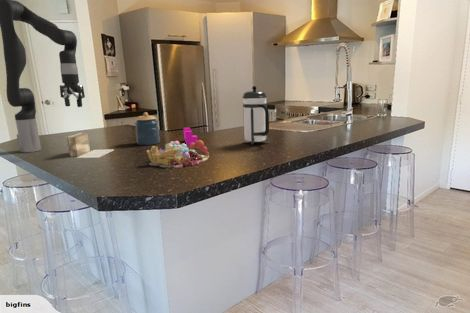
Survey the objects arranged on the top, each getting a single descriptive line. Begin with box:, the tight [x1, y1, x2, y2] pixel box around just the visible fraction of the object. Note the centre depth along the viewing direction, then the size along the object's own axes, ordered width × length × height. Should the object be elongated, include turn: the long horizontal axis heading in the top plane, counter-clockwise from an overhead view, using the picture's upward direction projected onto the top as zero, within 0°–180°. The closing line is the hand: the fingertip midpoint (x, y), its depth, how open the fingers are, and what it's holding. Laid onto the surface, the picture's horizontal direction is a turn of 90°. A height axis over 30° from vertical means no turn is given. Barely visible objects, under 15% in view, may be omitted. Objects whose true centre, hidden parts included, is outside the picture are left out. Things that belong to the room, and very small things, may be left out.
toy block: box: [183, 127, 198, 146], centre depth 188 cm, size 15×6×8 cm, turn 12°
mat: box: [76, 148, 115, 159], centre depth 167 cm, size 11×18×1 cm, turn 176°
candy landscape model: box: [146, 139, 210, 169], centre depth 145 cm, size 25×24×9 cm
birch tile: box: [66, 132, 91, 158], centre depth 167 cm, size 4×12×10 cm, turn 176°
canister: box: [134, 111, 161, 146], centre depth 188 cm, size 13×13×18 cm
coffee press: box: [241, 85, 270, 146], centre depth 175 cm, size 17×16×30 cm
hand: (73, 106), depth 167 cm, fingers open, 8 cm apart
